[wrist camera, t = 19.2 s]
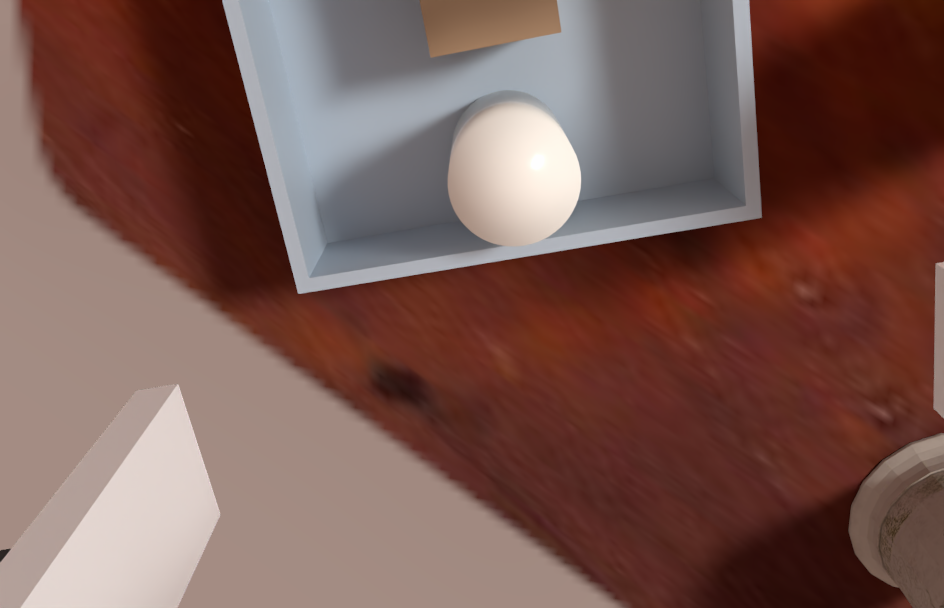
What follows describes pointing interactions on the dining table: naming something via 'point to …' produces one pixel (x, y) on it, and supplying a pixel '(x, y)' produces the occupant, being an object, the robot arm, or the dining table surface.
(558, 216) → the white cylinder
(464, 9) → the walnut cube
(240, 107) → the dining table surface
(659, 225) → the tote
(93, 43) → the dining table surface
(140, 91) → the dining table surface
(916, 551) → the mug
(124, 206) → the dining table surface
